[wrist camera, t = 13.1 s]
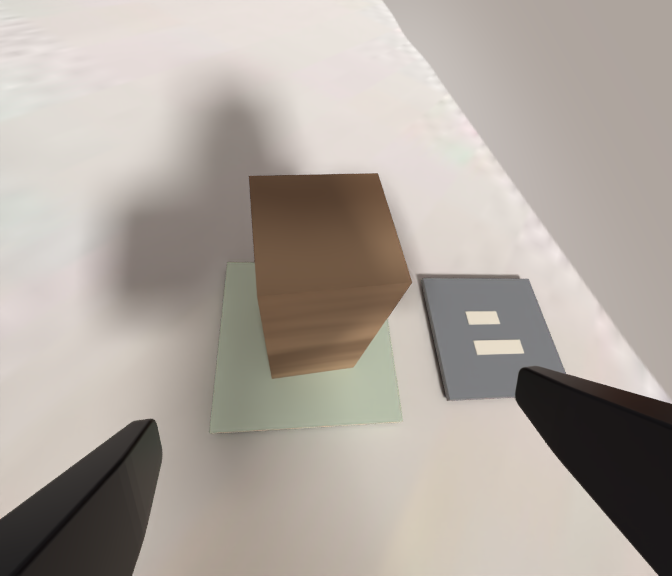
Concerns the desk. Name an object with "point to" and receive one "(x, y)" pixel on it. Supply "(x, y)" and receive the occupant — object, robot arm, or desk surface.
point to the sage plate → (295, 391)
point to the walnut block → (323, 268)
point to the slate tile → (486, 334)
